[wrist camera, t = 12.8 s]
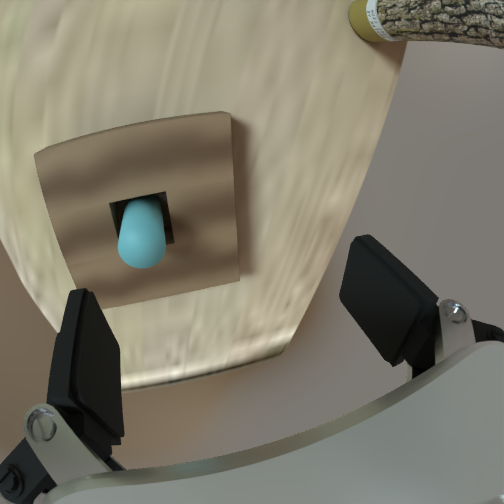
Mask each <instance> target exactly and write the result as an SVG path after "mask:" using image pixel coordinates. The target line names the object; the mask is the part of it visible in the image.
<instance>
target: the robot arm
mask: <svg viewBox="0 0 504 504" xmlns="http://www.w3.org/2000/svg"><path fill="white" fill-rule="evenodd" d="M339 297H340V300H341V302H342V303H343V305H344V306H345V307H346V309H347V310H348V312H349V313H350V314H351V315H352V317H353V318H354V319H355V321H356V322H357V323H358V325H359V326H360V327H361V329H362V330H363V331H364V333H365V334H366V335H367V337H368V338H369V339H370V341H371V342H372V343H373V345H374V346H375V347H376V349H377V350H378V351H379V353H380V354H381V356H382V357H383V358H384V360H385V361H387V362H389V363H390V364H391V365H392V367H394V366H396V365H398V364H400V363H402V362H403V361H404V359H405V360H406V361H407V377H406V383H405V384H404V385H402V386H400V387H398V388H397V389H395V390H393V391H391V392H390V393H388V394H386V395H384V396H382V397H380V398H378V399H376V400H374V401H372V402H370V403H368V404H367V405H364V406H362V407H360V408H358V409H356V410H354V411H352V412H350V413H347V414H345V415H343V416H341V417H339V418H336V419H334V420H331V421H329V422H327V423H324V424H322V425H319V426H317V427H314V428H312V429H309V430H306V431H304V432H301V433H298V434H295V435H293V436H290V437H287V438H284V439H281V440H278V441H275V442H271V443H268V444H265V445H262V446H258V447H255V448H251V449H248V450H243V451H239V452H235V453H231V454H227V455H223V456H218V457H214V458H209V459H203V460H199V461H192V462H186V463H181V464H174V465H168V466H160V467H151V468H142V469H131V470H126V469H125V468H124V467H123V466H122V465H121V464H120V463H119V462H118V461H117V460H116V459H115V458H114V457H113V456H112V455H111V454H112V447H111V445H121V439H120V437H124V423H123V413H122V397H121V373H120V348H119V344H118V342H117V340H116V338H115V336H114V334H113V332H112V330H111V329H110V327H109V325H108V323H107V320H106V318H105V316H104V314H103V312H102V310H101V308H100V306H99V304H98V301H97V299H96V297H95V295H94V293H93V292H92V291H90V292H89V291H88V289H87V288H82V289H76V290H71V291H70V293H69V296H68V300H67V304H66V308H65V312H64V316H63V321H62V325H61V330H60V332H59V333H58V334H57V337H56V341H55V346H54V351H53V357H52V363H51V370H50V377H49V385H48V393H47V403H46V404H43V403H41V404H37V405H35V406H33V407H32V408H30V410H29V411H28V412H27V413H26V415H25V418H24V422H23V431H24V435H25V438H24V439H23V440H22V441H21V442H20V443H19V444H18V446H17V447H16V448H15V449H14V450H13V451H12V452H11V453H10V454H9V455H8V456H7V458H6V459H5V460H4V461H3V462H2V463H1V464H0V504H504V331H503V330H502V329H500V328H498V327H496V326H493V325H490V324H486V323H482V322H479V321H476V320H472V319H471V317H470V314H469V312H468V310H467V309H466V307H464V306H463V305H462V304H461V303H459V302H458V301H455V300H450V299H447V300H443V301H442V302H441V303H440V305H439V307H438V306H437V305H436V303H437V301H438V299H439V298H438V297H437V296H436V295H435V294H434V293H433V292H432V291H431V290H430V289H429V288H428V287H427V286H426V285H425V284H424V283H423V282H422V281H421V280H420V279H419V278H418V277H417V276H416V275H415V274H414V273H413V272H412V271H410V270H409V269H408V268H407V267H406V266H405V265H404V264H403V263H402V262H401V261H400V260H398V259H397V258H396V257H395V256H394V255H393V254H392V253H391V252H389V251H388V250H387V249H386V248H385V247H384V246H383V245H381V244H380V243H379V242H378V241H377V240H376V239H375V238H374V237H372V236H371V235H368V234H367V235H362V236H357V237H355V239H354V240H353V242H352V243H351V245H350V250H349V254H348V259H347V264H346V268H345V272H344V277H343V281H342V285H341V289H340V293H339Z"/></svg>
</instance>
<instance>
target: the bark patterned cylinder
mask: <svg viewBox="0 0 504 504" xmlns="http://www.w3.org/2000/svg"><path fill="white" fill-rule="evenodd" d="M349 20H350V23H351V25H352V27H353V29H354V30H355V32H356V33H357V34H358V35H359V36H361V37H362V38H363V39H365V40H367V41H371V42H383V41H440V42H455V43H465V44H473V45H481V46H487V47H493V48H499V49H504V0H357V1H355V2H353V3H352V4H351V6H350V9H349Z"/></svg>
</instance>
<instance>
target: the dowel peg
mask: <svg viewBox="0 0 504 504" xmlns="http://www.w3.org/2000/svg"><path fill="white" fill-rule="evenodd" d="M165 251H166V242H165V233H164V224H163V215H162V205H161V202H160V200H159V199H158V197H157V196H156V195H154V194H149V195H144V196H139V197H134V198H130V199H128V201H127V203H126V206H125V210H124V215H123V220H122V225H121V230H120V235H119V241H118V252H119V255H120V257H121V258H122V260H123V261H124V262H125V263H127V264H128V265H130V266H132V267H135V268H149V267H152V266H154V265H156V264H157V263H158V262H160V261H161V259H162V258H163V256H164V254H165Z"/></svg>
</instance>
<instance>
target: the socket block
mask: <svg viewBox="0 0 504 504" xmlns="http://www.w3.org/2000/svg"><path fill="white" fill-rule="evenodd" d="M34 159H35V164H36V168H37V172H38V177H39V181H40V185H41V189H42V192H43V196H44V200H45V203H46V207H47V210H48V213H49V217H50V220H51V223H52V226H53V229H54V232H55V235H56V238H57V240H58V243H59V246H60V249H61V251H62V254H63V257H64V259H65V262H66V264H67V267H68V269H69V271H70V274H71V276H72V279H73V281H74V283H75V285H76V288H77V289H82V288H87V289H88V291H89V292H90V291H92V292H93V293H94V295H95V297H96V299H97V301H98V304H99V306H100V308H101V309H106V308H111V307H117V306H122V305H127V304H132V303H137V302H142V301H147V300H152V299H157V298H162V297H167V296H172V295H177V294H181V293H186V292H191V291H196V290H200V289H205V288H209V287H214V286H219V285H223V284H228V283H232V282H237V281H240V273H239V258H238V242H237V226H236V210H235V192H234V174H233V155H232V135H231V114H230V113H227V112H222V111H219V112H208V113H199V114H191V115H183V116H176V117H169V118H163V119H157V120H151V121H145V122H140V123H135V124H130V125H125V126H121V127H116V128H112V129H108V130H104V131H100V132H96V133H92V134H88V135H84V136H81V137H77V138H74V139H70V140H67V141H64V142H61V143H58V144H54V145H51V146H48V147H46V148H44V149H42V150H41V151H39V152H37V153H35V154H34ZM164 191H166V195H167V201H168V207H169V213H170V219H171V225H172V227H171V228H166V229H164V233H165V242H166V251H165V254H164V256H163V258H162V259H161V261H160V262H158V263H157V264H156V265H154V266H152V267H149V268H135V267H132V266H130V265H128V264H127V263H125V262H124V261H123V260H122V258H121V257H120V255H119V252H118V241H119V235H120V230H121V221H120V217H119V213H118V208H117V204H116V201H120V200H125V199H130V198H134V197H139V196H144V195H149V194H154V193H159V192H164Z"/></svg>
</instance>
